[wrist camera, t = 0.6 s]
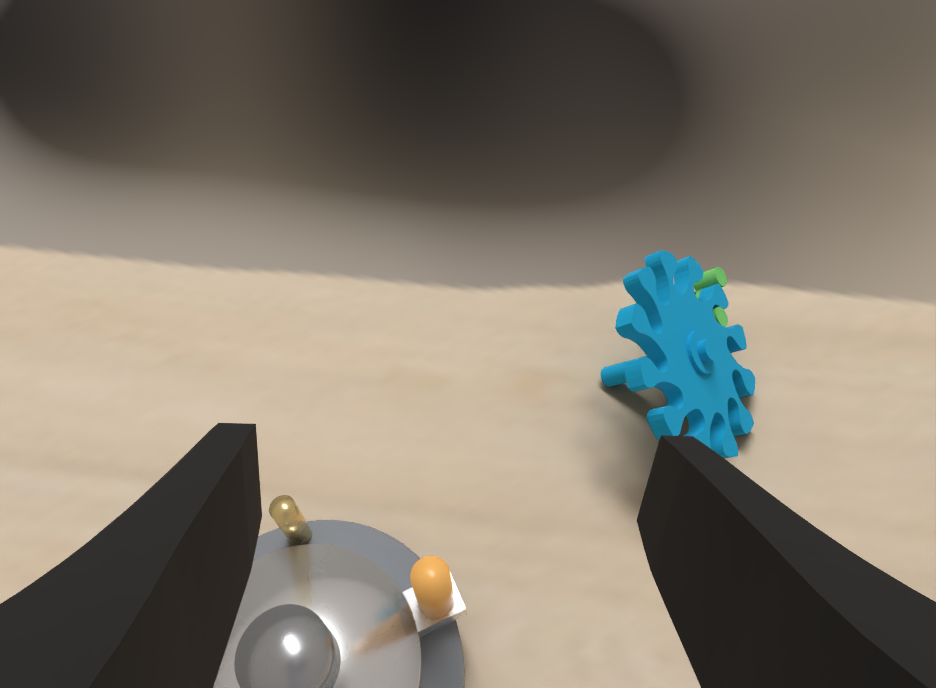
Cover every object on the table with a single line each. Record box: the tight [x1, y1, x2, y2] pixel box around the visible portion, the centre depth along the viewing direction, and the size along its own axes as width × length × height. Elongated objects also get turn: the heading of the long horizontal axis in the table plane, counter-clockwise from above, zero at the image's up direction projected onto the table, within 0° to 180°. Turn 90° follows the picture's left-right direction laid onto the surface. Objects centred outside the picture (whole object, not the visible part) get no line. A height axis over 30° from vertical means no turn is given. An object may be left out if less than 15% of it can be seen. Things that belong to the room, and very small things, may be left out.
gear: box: [601, 251, 755, 458], centre depth 32 cm, size 11×6×10 cm
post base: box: [253, 495, 464, 688], centre depth 24 cm, size 12×12×4 cm
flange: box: [213, 544, 467, 688], centre depth 23 cm, size 11×9×4 cm
